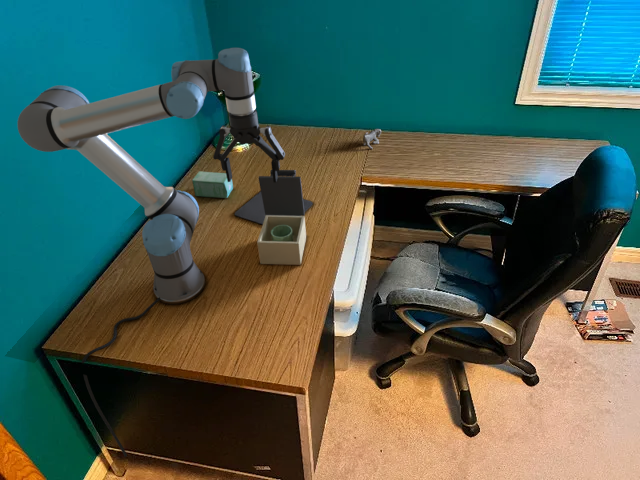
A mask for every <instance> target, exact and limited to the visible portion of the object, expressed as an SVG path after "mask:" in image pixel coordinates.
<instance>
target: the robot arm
mask: <svg viewBox="0 0 640 480" xmlns="http://www.w3.org/2000/svg"><path fill="white" fill-rule="evenodd" d="M217 55H218V57H217V58H215V59H199V60H196V59H195V60H187V59H186V60H182V61H175V62H174V63H172V66H171V70H170V71H171V72H170V73H171V74H170V75H171V81H169V82H165V83H162V84H157V85H154V86H150V87H146V88H142V89H138V90H134V91H131V92H126V93H123V94H120V95H116V96H113V97H108V98H105V99H100V100H97V101H94V102H90V101H89V99H88V98H87V97H86V96H85V94H83V93H82V92H81V91H79V90H78V89H76V88H74V87H72V86H68V85H61V84H60V85H59V84H58V85H54V86H51V87H49V88H47V89H46V90H44V91H43V92H40V94H39V95H38V96H37V97H36V98H35V99H34V100H32V101H31V102H30V103H29V104H28V105H27V106H25V108H24V109H22V111H21V112H20V114H19V116H18V118H17V130H18V133H19V136H20V138H21V139H22V140H23V142H25V143H26V145H28V146H29V147H31V148H32V149H35V150H36V151H40V152H46V153H47V152H48V153H53V152H59V151H62V150H70V151H71V150H72V151H73V150H74V151H77V152H79V153H80V154H81V155H82V156H83V157H84V158H86V159H87V160H88V161H89V162H90V163H91V164H93V165H94V166H95V167H96V168H97V169H99V170H100V171H101V173H103V174H104V175H106V176H107V177H108V178H109V179H110V180H111V181H112V182H114V183H115V184H116V185H117V186H119V187H120V189H122V190H123V191H124V192H126V193H127V195H129V196H130V197H131V198H132V199H134V201H136V202H137V203H138V204H139V205H141V206H142V207H143V208H144V215H145V217H147V218H148V219H149V220H148V221H147V222H146V223H145V224H144V226H143V228H142V231H141V235H142V236H141V237H142V244H143V246H144V249H145V250H146V253H147V256H148V259H149V262H150V264H151V268H152V270H153V273H154V275H153V284H152V285H153V288H152V289H153V293H154V295H155V298H156V299H155V300H154V301H153V302H152V303H151V304H150V305H148V306H147V307H146V309H144V311H142V313H141V314H139V315H136V316H132V317H127V318H126V317H125V318H123V319H120V320H118V321H117V322H116V323H115V324H114V326H113V336H112V339H110V340H109V341H108V342H106V343H105V344H103V345H101V346H99V347H96V348H93V349H92V350H90V351H89V352H87V353H86V354H85V355H84V357H83V358H82V360H81V364H84V363H85V362H86V361H87V359H88V358H89V357H90V356H91V355H93V354H94V353H96V352H98V351H101V350H103V349H105V348H108V347H109V346H110V345H112V344H113V343H114V342H115V341H116V339H117V335H118V333H117V332H118V330H117V329H118V327H119V326H120V324H122V323H125V322H129V321H135V320H139V319H141V318H142V317H144V316H145V315H146V314H147V313H148V312H149V311H150V310H151V309H152V308H153V307H154V306H155V305H156V304H158V302H161V303H163V304H166V305H181V304H185V303H189V302H190V301H192V300H194V299H196V298H197V297H198V296H200V294H201V293H202V292H203V290H204V288H205V286H206V279H205V275H204V273H203V272H202V270H201V269H200V268H199V267H198V265H197V264H196V263H195V261H194V257H193V254H192V251H191V241H192V238H193V235H194V232H195V229H196V226H197V224H198V221H199V217H200V216H199V214H200V207H199V203H198V202H197V200H196V198H195V197H194V196H193V195H192V194H190V193H189V192H186V191H184V190H183V191H181V190H180V189H179V190H178V189H177V190H176V189H175V188H174V187H173V186H164V185H163V184H162V183H161V182H160V181H159V180H158V179H157V178H156V177H155V176H153V174H151V173H150V172H149V171H148V170H147V169H146V168H145V167H144V166H142V165H141V164H140V163H139V162H138V161H137V160H136V159H135V158H134V157H133V156H131V155H130V154H129V153H128V152H127V151H126V150H125V149H124V148H123V147H122V146H120V145H119V144H118V143H117V142H116V141H115V140H114V139H113V138H111V136H110V135H108V134H111V133H114V132H119V131H123V130H126V129H130V128H134V127H138V126H142V125H145V124H149V123H153V122H157V121H161V120H164V119H169V118H171V117H172V118H173V117H176V118H178V119H179V118H180V119H183V120H187V119H191V118H194V117H195V116H196V115H197V114H198V113H199V111H200V110H202V107H203V106H204V101H205V99H206V96H207V94H208V92H220V91H223V92H224V97H225V104H226V109H227V112H228V113H227V115H228V120H229V127H226V126H225V125H222V126H221V127H220V129H219V138H218V142H217V144H216V147H215V150H214V153H213V155H212V159H213V160H214V161H215V160H218V161H220V165H221V166H220V167H221V170H222V171H225V173H226V176H227V181H228V182H230V181H231V179H232V180H233V172H232V167H231V162H230V157H228V156H229V155H230V153H231V152H232V150H233V149H234V148H235V147H236V145H237V143H239V144H240V145H246V144H247V145H252V144H254V145H255V146H256V147H258V148H259V149H260V150H261V151H262V152H264V153H265V155H266V156H268V158H270V159H271V162H270V163H271V170H272V173H273V181H274V182H277V178H278V175H277V171H279V170H281V169H280V168H281V163H280V161H283V160H284V159H285V156H286V153H285V151H284V149H283V148H282V146H281V144H280V143H279V142H278V140H277V139H276V137H275V135H274V134H273V132H272V131H273V130H272V128H271V126H270V125H266V126H265V127H260V125H259V120H258V119H259V117H258V112H257V109H256V108H257V104H256V96H255V90H254V89H255V88H254V80H253V73H252V66H251V62H250V61H251V60H250V57H249V56H250V55H249V52H248V51H247V50H246V49H244V48H241V47H230V48H224V49H221V50H220V51H218V54H217ZM229 134H230V135H231V136H232V137H233V138H232V140H231V142H230V143H229V144H228V146H227V147H226V148H225V150H224V151H223V153H221V150H222V148H223V146H224V142H225V140H226V137H227V136H228V135H229ZM260 134H262V135H263V137H265V138H266V140H267V141H268V143H267V142H266V141H265V140H264V139H263V137H262V136H261V135H260ZM269 144H270V145H269ZM82 374H83V373H82ZM83 380H84V383H85V386H86V388H87V391H88V394H89V396H90V398H91V401H92V403H93V405H94V406H95V409H96V410H97V412H98V414H99V415H100V417H101V419H102V420H103V422H104V424H105V426H106V427H107V429H108V430H109V432H110V434H111V435H112V437H113V439H114V440H115V442H116V443H117V445H118V447H119V449H120V451H121V452H122V454H123V456H124V457H127V456H128V453H127V452H126V450H125V448H124V446H123V444H122V443H121V441H120V439H119V438H118V436H117V434H116V433H115V431H114V430H113V428H112V426H111V425H110V423H109V421H108V420H107V418H106V416H105V414H104V413H103V411H102V408H101V407H100V405H99V403H98V402H97V400H96V397H95V395H94V393H93V391H92V387H91V385H90V382H89V379H88V375H87V374H85V373H84V374H83Z"/></svg>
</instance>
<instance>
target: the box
mask: <svg viewBox="0 0 640 480" xmlns="http://www.w3.org/2000/svg"><path fill="white" fill-rule="evenodd" d="M191 181H192V186H193V191H194V196H195V197H203V198H204V197H205V198H218V199H228V198H229V196H230V194H231V193H232V191H233V189H234V184H233V178H232V179H231V181H230V182H228V181H227V176H226V172H212V171H200V170H199V171H198V172H197V173H196V175H195V176H194V177H193V178H192V179H191Z"/></svg>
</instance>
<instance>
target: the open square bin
mask: <svg viewBox="0 0 640 480" xmlns="http://www.w3.org/2000/svg"><path fill="white" fill-rule="evenodd" d="M278 225H287V226H290V227H291V228H292V235H293V242H281V241H272V238H271V230H272V228H274V227H275V226H278ZM306 241H307V229H306V216H305V215H304V216H272V215H266V216H265V219H264V223H263V225H262V226H261V229H260V231H259V235H258V239H257V241H256V245H257V250H258V256H259V262H260V265H284V266H285V265H289V266H291V265H292V266H301V265H302V262H303V261H302V260H303V255H304V251H305V245H306Z"/></svg>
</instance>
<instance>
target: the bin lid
mask: <svg viewBox="0 0 640 480" xmlns="http://www.w3.org/2000/svg"><path fill="white" fill-rule="evenodd" d="M277 175H278V178H277V182H274V181H273V173H272V169H270V172H269V175H266V176H265V175H259V176H258V183H259V188H260V189H259V190H260V192H261V194H262V200H263V205H264V210H265V215H298V216H305V214H306V212H304V204H303V199H304V196H303V188H302V178H301V176H297V170H296V169H279V171H277Z"/></svg>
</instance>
